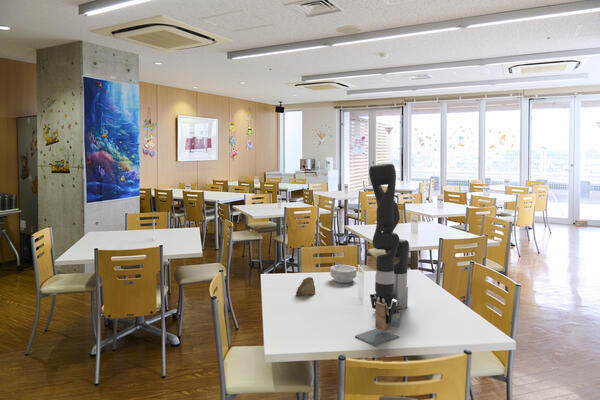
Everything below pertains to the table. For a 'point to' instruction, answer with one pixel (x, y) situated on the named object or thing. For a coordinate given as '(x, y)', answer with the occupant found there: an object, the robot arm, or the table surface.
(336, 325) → the table surface
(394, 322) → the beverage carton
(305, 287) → the rock
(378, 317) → the walnut block
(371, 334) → the slate mat
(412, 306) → the table surface
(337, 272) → the paper bowls
